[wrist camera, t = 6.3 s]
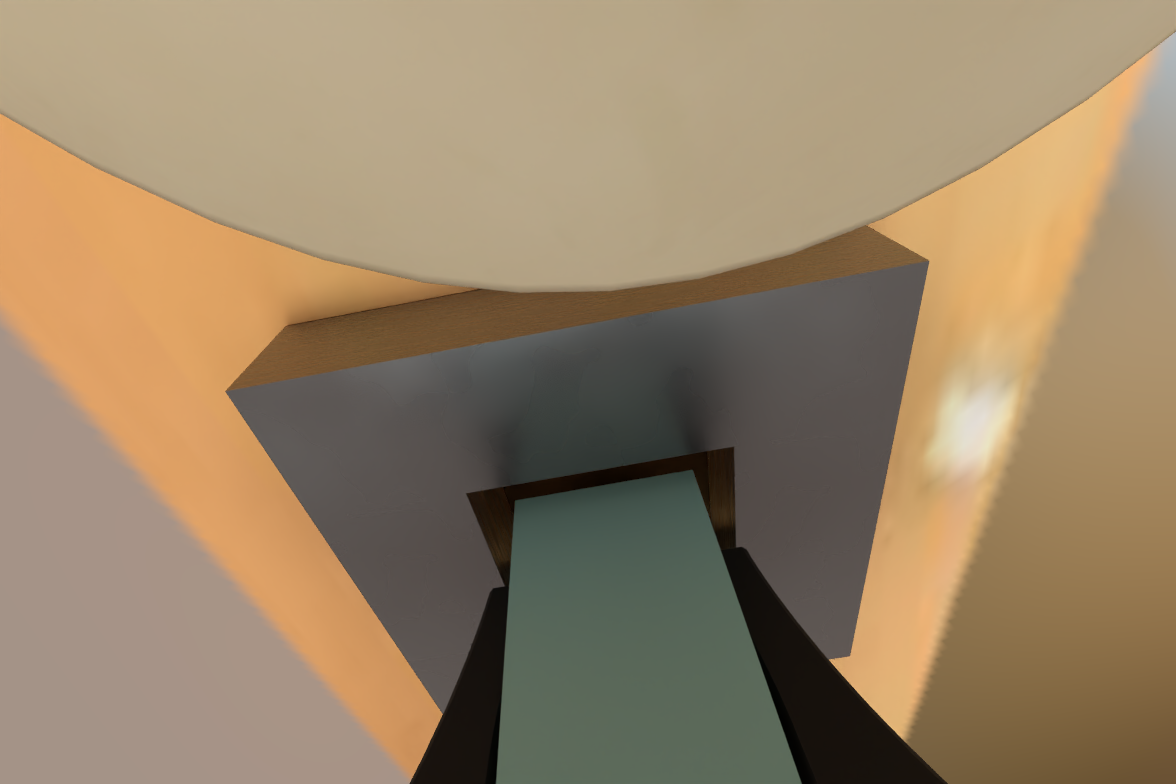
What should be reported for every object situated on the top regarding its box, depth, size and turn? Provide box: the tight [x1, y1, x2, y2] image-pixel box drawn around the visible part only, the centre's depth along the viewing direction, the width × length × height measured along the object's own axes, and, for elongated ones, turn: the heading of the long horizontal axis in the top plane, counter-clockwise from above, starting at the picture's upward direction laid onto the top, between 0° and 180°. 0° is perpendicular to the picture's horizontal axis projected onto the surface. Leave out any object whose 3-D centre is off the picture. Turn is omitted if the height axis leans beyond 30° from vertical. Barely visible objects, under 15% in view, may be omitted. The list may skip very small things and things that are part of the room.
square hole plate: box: [225, 225, 929, 713], centre depth 13 cm, size 12×12×2 cm
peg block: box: [496, 470, 802, 784], centre depth 10 cm, size 4×4×6 cm
